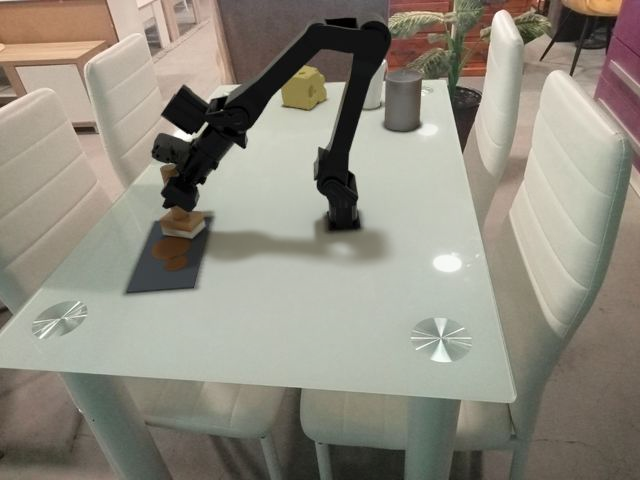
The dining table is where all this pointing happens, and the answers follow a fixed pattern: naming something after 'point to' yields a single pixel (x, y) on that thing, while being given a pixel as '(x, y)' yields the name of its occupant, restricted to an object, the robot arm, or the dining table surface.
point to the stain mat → (168, 261)
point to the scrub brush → (180, 214)
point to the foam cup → (375, 88)
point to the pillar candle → (403, 99)
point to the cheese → (304, 89)
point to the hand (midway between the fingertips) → (166, 202)
